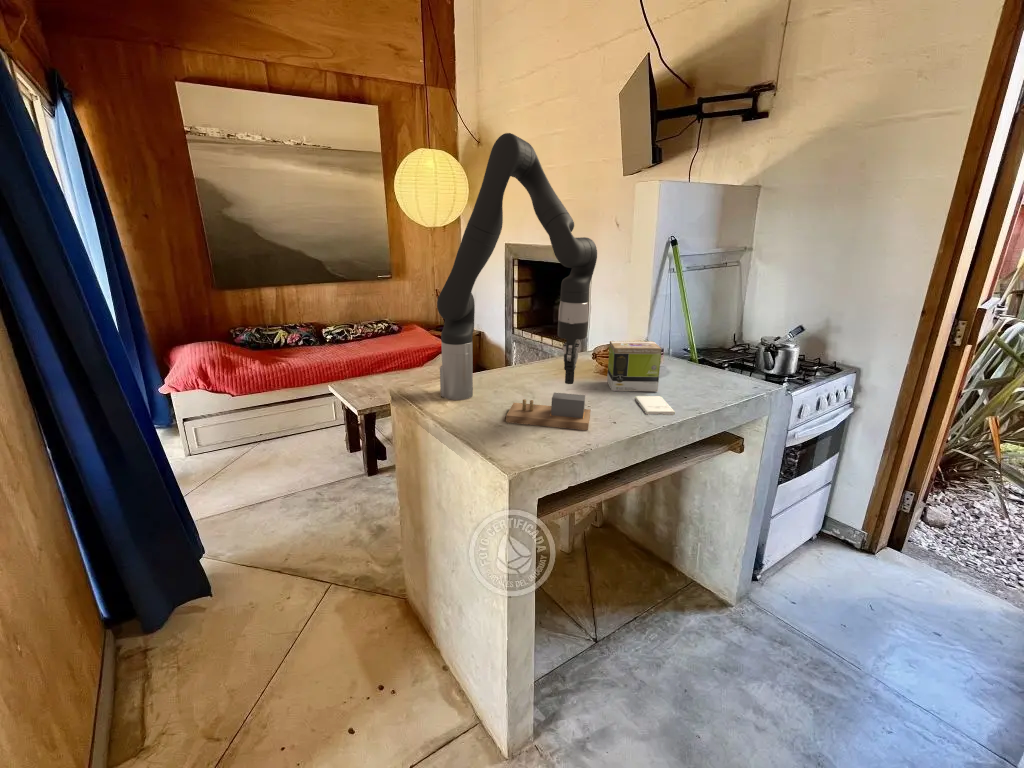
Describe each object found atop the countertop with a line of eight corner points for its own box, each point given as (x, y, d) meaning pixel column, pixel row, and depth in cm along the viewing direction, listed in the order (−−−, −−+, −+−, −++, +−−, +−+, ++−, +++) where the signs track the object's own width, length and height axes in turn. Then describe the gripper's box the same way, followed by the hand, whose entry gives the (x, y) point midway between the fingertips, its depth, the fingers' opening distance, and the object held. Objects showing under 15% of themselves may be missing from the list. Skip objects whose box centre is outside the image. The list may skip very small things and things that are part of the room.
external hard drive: (660, 401, 153) (674, 416, 141) (634, 400, 152) (646, 416, 141) (661, 396, 152) (675, 411, 140) (635, 395, 152) (647, 410, 140)
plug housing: (551, 415, 133) (551, 398, 131) (553, 409, 137) (553, 392, 136) (583, 418, 131) (584, 400, 130) (584, 412, 136) (585, 395, 134)
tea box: (650, 382, 168) (655, 340, 163) (657, 392, 158) (663, 348, 154) (606, 381, 168) (609, 339, 163) (610, 391, 159) (614, 347, 154)
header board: (506, 422, 133) (506, 405, 132) (513, 409, 143) (513, 392, 141) (588, 430, 129) (589, 412, 128) (590, 416, 139) (591, 399, 137)
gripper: (561, 313, 133) (558, 374, 138) (555, 323, 120) (552, 390, 126) (589, 314, 131) (585, 376, 137) (586, 325, 119) (581, 392, 125)
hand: (569, 382), depth 131 cm, fingers closed
